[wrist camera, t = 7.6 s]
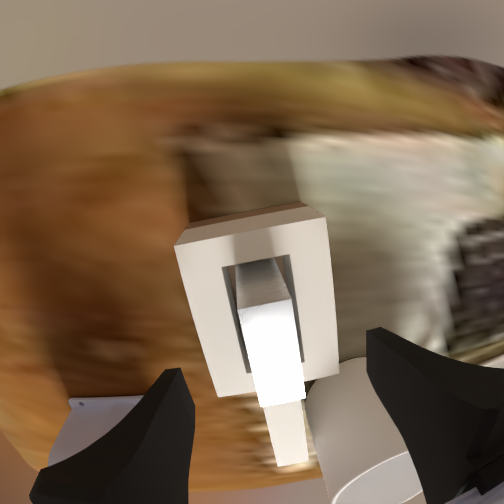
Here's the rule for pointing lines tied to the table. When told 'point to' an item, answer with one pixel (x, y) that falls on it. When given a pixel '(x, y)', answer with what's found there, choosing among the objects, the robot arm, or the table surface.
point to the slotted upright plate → (225, 302)
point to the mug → (358, 440)
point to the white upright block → (269, 331)
